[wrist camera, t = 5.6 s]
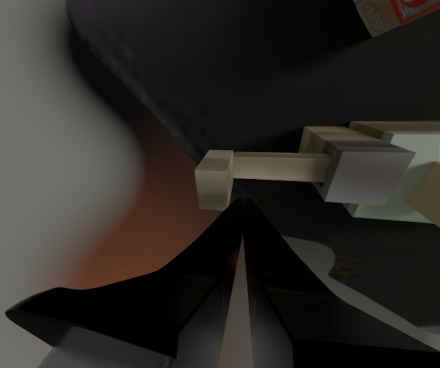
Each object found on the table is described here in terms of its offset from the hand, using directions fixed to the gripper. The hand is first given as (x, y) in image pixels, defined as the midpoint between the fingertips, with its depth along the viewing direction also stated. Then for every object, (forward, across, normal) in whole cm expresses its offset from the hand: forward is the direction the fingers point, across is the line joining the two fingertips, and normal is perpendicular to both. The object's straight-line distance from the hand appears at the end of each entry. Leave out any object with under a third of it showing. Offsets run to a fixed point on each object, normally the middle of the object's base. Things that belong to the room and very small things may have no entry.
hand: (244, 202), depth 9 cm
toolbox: (+12, -13, +2) cm, 18 cm away
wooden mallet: (+6, -2, 0) cm, 6 cm away
